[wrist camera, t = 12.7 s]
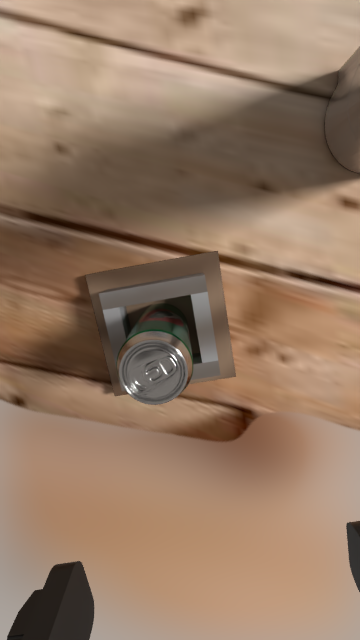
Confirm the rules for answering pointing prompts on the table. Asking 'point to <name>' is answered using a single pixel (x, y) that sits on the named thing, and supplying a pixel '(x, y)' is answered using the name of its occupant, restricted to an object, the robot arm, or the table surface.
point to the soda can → (156, 356)
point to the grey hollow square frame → (171, 288)
